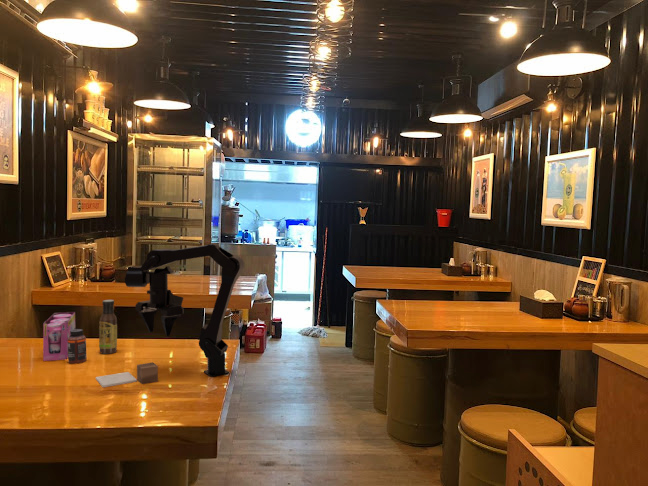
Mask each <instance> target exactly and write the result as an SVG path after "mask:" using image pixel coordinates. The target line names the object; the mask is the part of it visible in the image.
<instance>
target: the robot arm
mask: <svg viewBox="0 0 648 486" xmlns="http://www.w3.org/2000/svg"><path fill="white" fill-rule="evenodd" d="M204 257H210V258H211V259H212V260H213V261H214V262H215V263H216V264H218V266H220V267H221V273H220V275H221V276H220V277H221V280H220V281H221V282H220V286H219V290H218V293H217V297H216V299H215V303H214V305H213V306H214V307H213V309H212V312H211V316H210V318H209V319H210V320H209V322H208V324H204V325H203V326H202V327H201V328H200V334H199V336H198V338H197V340H198V346H199V348H200V349H201V351H203V353H204V356H205V358H206V359H207V369H205V370H203V373H204V374H206V375H207V376H209V377H210V378H211V377H212V378H213V377H218V376H223V375H228V374H230V371H228V370H227V369H226V353H227V351H228V348H229V345H228V344H227V343H226V342H225V341H224V340H223V339H222V338H223V323H224V319H225V315H226V313H227V311H228V307H229V304H230V303H229V302H230V299H231V297H232V293H233V290H234V286H235V285H236V283H237V281H238V279H239V277H240V276H241V274H242V272H243V271H244V269H245V261H244V259H242V258H241V257H240V256H238V255H233V253H231V252H229V251H228V250H225V248H223V247H221V246H220V245H219V244H217V243H214V242H213V243H209V244H207V245H199V246H193V247H185V248H179V249H176V248H175V249H174V248H173V249H172V248H158V249H157V248H156V249H152V250H150V251H148V253H147V254H146V259H145V261H144V262H143V263H142V265H141V266H133V265H132V266H131V265H130V266H128V267H127V270H126V273H125V277H124V283H125V285H126V287H127V288H146V287H147V285H149V290H146V294H148V295H149V300H142V301H138V302H137V303H135V311H136V312H137V314H139V316H140V317H141V319H142V321H143V323H144V324H145V326H146V328H147V330H148V332H149V333H153V332H154V328H155V326H154V325H155V316H156V314H157V312H160V313H161V315H162V316H160V318H161V319H160V320H161V323H162V327H163V330H164V334H165V336H166V337H169V336H170V335H171V333H172V330H173V326H174V323H175V321H176V319H178V318H179V317H181V316H182V315H184V307H183V306H182V305H183V301H184V297H182V296H179V295H175V294H174V293H173V292H172V290H171V289H169V288H168V287H169V286H168V283H169V282H168V275H170V274H174V273H175V271H174V270H173V269H172V268H171V267H170V266H169V265H170V264H173V263H175V262H178V261H183V260H191V259H192V260H193V259H197V258H204ZM163 266H165V267H163ZM159 267H163V268H159ZM153 269H154V270H153ZM151 270H153V271H151Z"/></svg>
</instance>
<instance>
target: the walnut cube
mask: <svg viewBox="0 0 648 486" xmlns="http://www.w3.org/2000/svg"><path fill="white" fill-rule="evenodd" d="M158 370H159V366H158V365H157V364H156V363H154V362H153V361H152V362H146V363H139V364H136V379H137V382H139V384H141V385H145V384H152V383H156V382H159V371H158Z"/></svg>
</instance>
